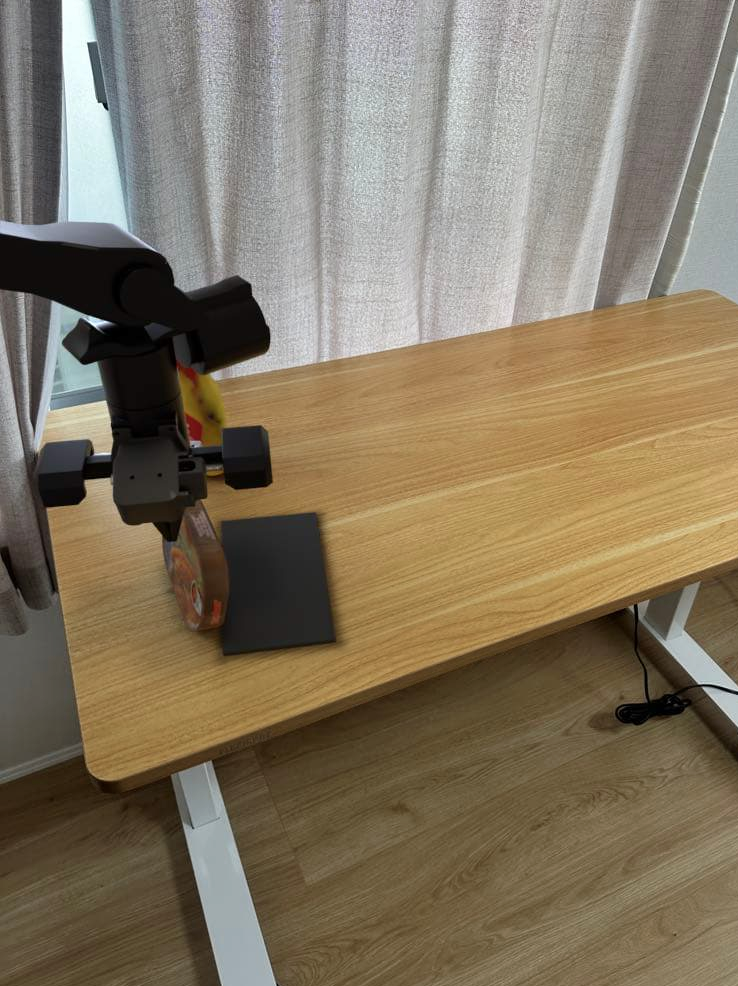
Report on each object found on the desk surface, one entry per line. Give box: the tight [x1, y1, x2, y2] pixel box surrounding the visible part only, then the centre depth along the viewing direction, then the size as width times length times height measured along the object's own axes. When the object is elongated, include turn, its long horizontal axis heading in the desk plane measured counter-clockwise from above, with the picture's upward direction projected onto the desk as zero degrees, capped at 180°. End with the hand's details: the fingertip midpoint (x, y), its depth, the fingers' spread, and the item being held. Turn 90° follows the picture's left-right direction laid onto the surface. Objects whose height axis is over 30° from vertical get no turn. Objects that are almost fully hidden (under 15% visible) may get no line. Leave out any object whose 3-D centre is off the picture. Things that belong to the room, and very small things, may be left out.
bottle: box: [176, 358, 228, 477], centre depth 88 cm, size 12×6×20 cm, turn 37°
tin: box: [161, 499, 230, 633], centre depth 75 cm, size 15×3×8 cm, turn 25°
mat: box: [220, 511, 337, 656], centre depth 79 cm, size 10×18×1 cm, turn 11°
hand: (172, 539), depth 73 cm, fingers closed
